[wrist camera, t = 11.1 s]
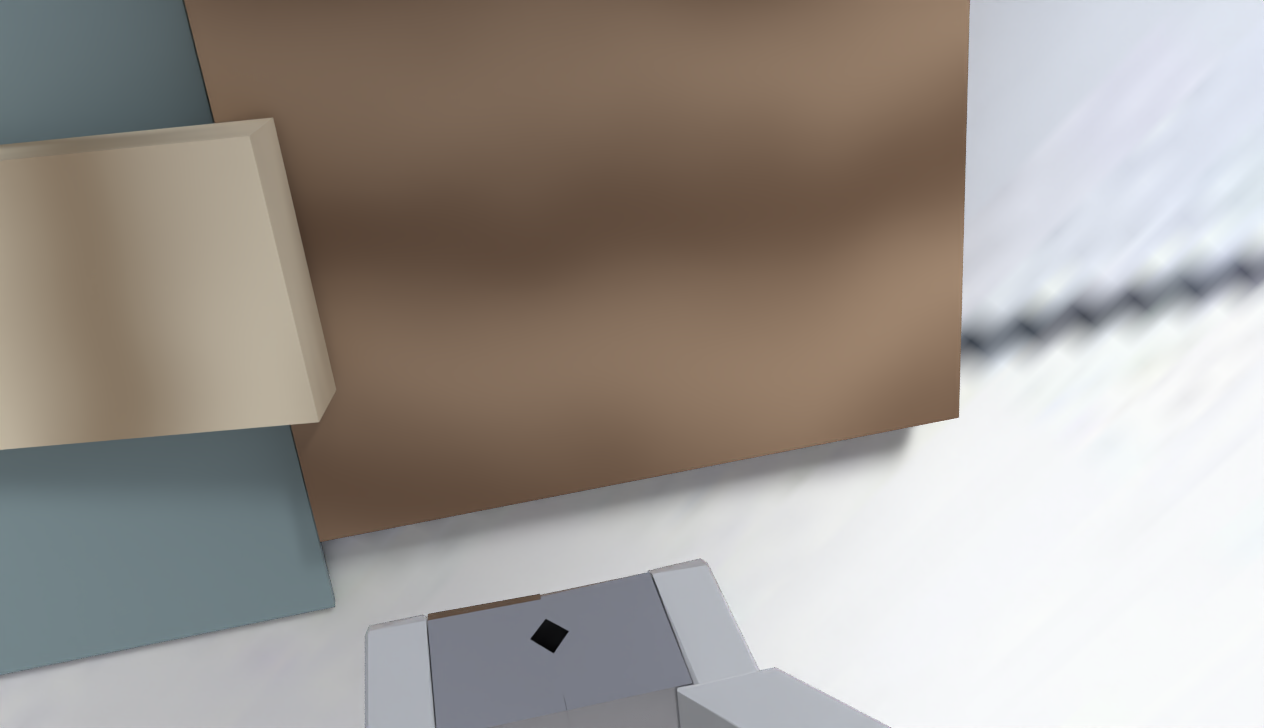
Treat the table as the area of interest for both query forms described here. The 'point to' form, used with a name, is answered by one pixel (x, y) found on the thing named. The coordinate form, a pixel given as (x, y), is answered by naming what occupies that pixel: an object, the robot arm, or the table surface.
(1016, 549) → the table surface
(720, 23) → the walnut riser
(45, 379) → the birch block
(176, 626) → the rubber mat
